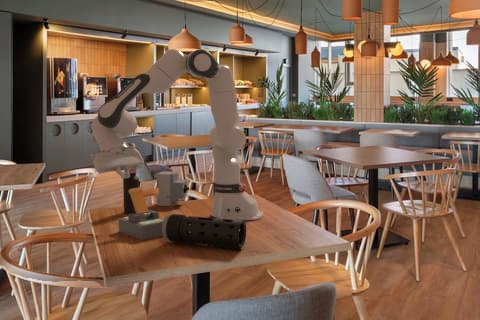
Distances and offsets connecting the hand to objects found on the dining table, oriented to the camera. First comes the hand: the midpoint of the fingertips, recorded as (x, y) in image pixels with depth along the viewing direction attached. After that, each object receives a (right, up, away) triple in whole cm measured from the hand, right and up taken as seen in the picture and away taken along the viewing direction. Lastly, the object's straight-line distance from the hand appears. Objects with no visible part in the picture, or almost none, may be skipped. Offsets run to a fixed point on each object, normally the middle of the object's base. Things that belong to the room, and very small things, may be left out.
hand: (126, 177), depth 199 cm
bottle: (-3, -17, +27) cm, 32 cm away
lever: (+8, -14, -7) cm, 18 cm away
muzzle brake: (+32, -23, -22) cm, 45 cm away
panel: (+8, -21, -6) cm, 23 cm away
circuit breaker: (+13, -14, +43) cm, 47 cm away
